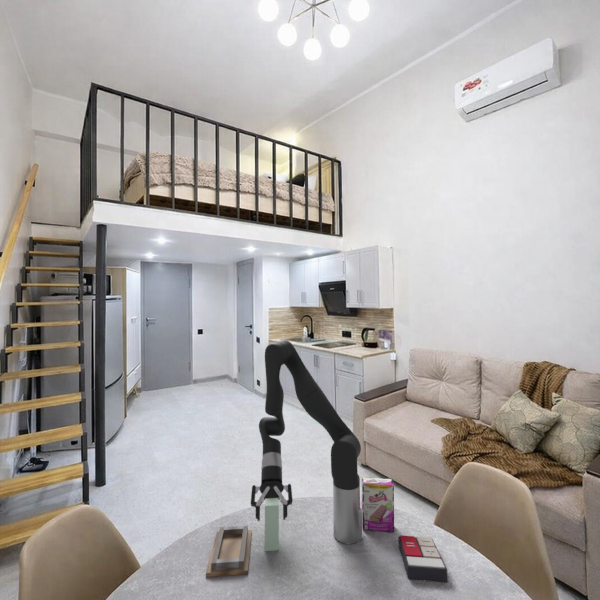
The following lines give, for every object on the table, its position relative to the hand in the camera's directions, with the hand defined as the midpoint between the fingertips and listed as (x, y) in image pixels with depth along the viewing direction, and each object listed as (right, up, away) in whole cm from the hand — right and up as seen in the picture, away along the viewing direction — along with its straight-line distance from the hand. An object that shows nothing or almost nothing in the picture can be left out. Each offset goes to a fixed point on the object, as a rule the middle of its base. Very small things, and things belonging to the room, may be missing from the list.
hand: (271, 519), depth 108 cm
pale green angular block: (0, -8, -1) cm, 8 cm away
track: (-13, -8, -4) cm, 15 cm away
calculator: (+47, -8, -8) cm, 48 cm away
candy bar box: (+37, -9, +9) cm, 40 cm away
